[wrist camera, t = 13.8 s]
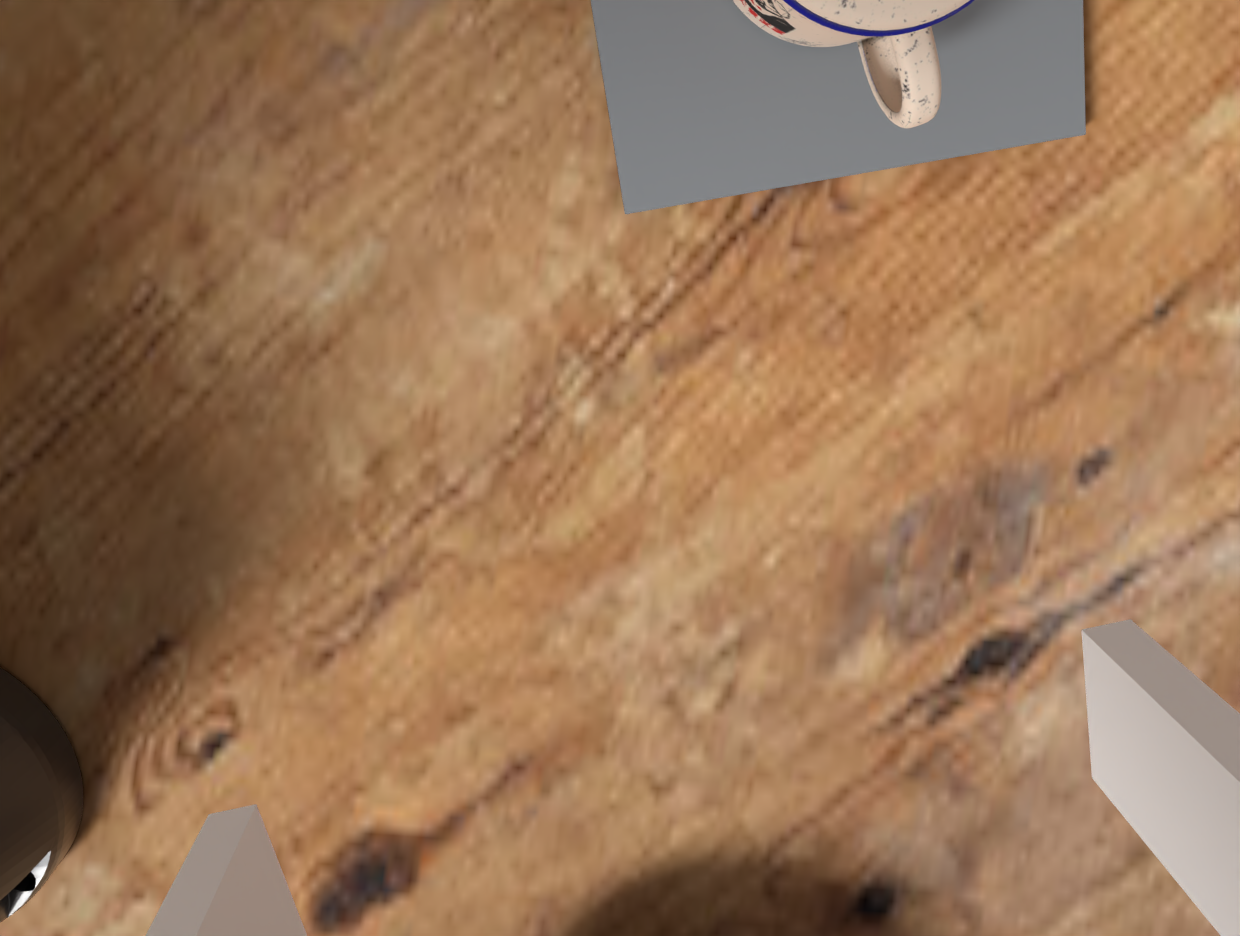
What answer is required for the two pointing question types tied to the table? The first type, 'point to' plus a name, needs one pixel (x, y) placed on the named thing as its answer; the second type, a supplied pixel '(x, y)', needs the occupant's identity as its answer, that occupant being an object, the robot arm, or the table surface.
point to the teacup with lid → (871, 44)
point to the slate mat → (818, 96)
